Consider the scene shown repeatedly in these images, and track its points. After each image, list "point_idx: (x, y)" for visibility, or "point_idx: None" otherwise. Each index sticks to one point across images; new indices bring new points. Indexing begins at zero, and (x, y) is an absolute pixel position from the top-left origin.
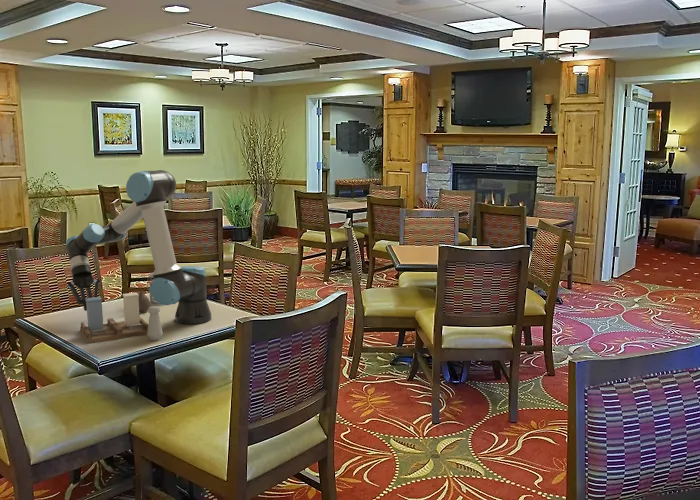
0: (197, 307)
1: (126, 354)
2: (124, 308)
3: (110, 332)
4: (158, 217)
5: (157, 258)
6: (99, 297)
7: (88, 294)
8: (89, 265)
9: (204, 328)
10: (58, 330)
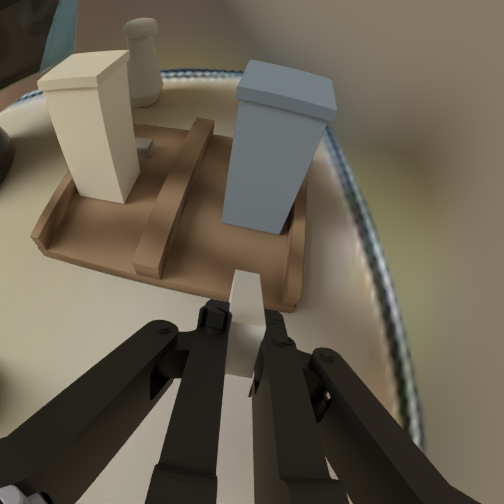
0: None
1: None
2: (114, 135)
3: (217, 163)
4: None
5: None
6: (248, 79)
7: (223, 385)
8: None
9: (30, 112)
10: (366, 384)
